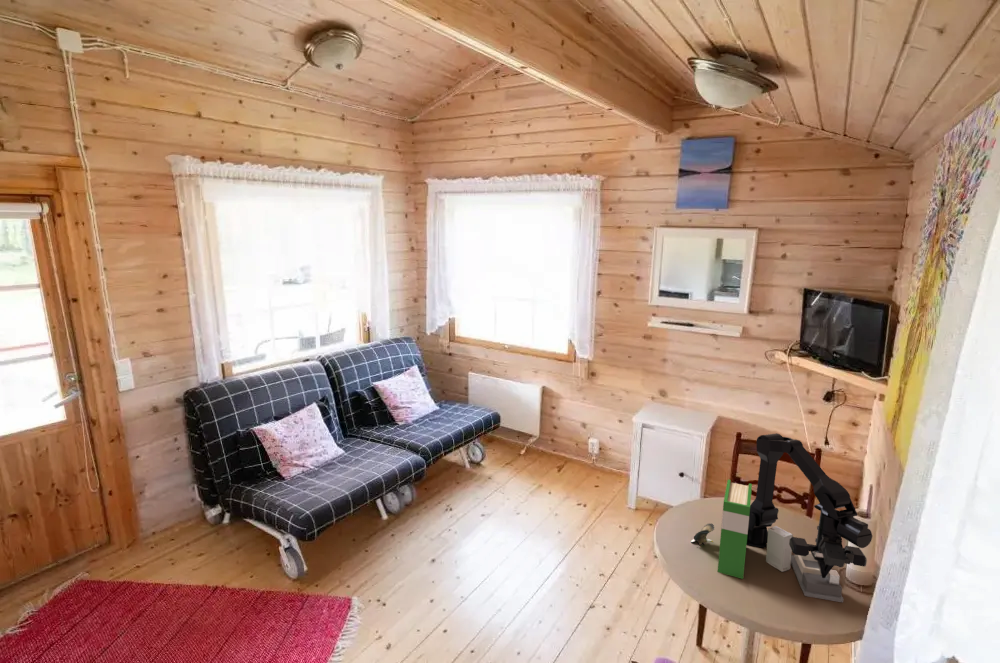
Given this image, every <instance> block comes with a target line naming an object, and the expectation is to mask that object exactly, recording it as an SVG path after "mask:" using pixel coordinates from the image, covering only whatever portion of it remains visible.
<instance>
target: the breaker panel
mask: <svg viewBox="0 0 1000 663" xmlns="http://www.w3.org/2000/svg"><path fill="white" fill-rule="evenodd" d="M790 565H791V566H792V569H793V572H794V574H795V577H796V579H797V581H798V584H799V586H800V589H801V591H802V593H803V596H804V597H808V598H809V597H810V598H816V599H820V600H826V601H833V602H839V603H844V597H843V596H842V592H843V587H842V585H841V583H840V582H839V585H835V584H829V582H828V580H827V578H826V577H825V578H822V576H821V573H820V569H819V565H818V562H817V560H815V559H814V557H813V555H812V553H811V551H809V555H807V556H800V555H795V554H791V564H790Z"/></svg>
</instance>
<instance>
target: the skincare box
mask: <svg viewBox="0 0 1000 663" xmlns="http://www.w3.org/2000/svg"><path fill="white" fill-rule="evenodd" d="M767 530H768V539H767V544H766V545H767V548H766V555H765V562H766V563H768V564H769V565H770V566H772V567H773V568H775V569H777V570H779V571H780V572H786V571H789V570H790V569H791V565H792V564H791V555H792V553H793V552H792V550H791V547H790V545H789V541H790V538H792V537H794V536H793V535H794V534H793V533H791V532H789V531H786V530H785V529H783V528H781V527H779V526H777V525H774V526H771V527H769V528H767Z"/></svg>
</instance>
